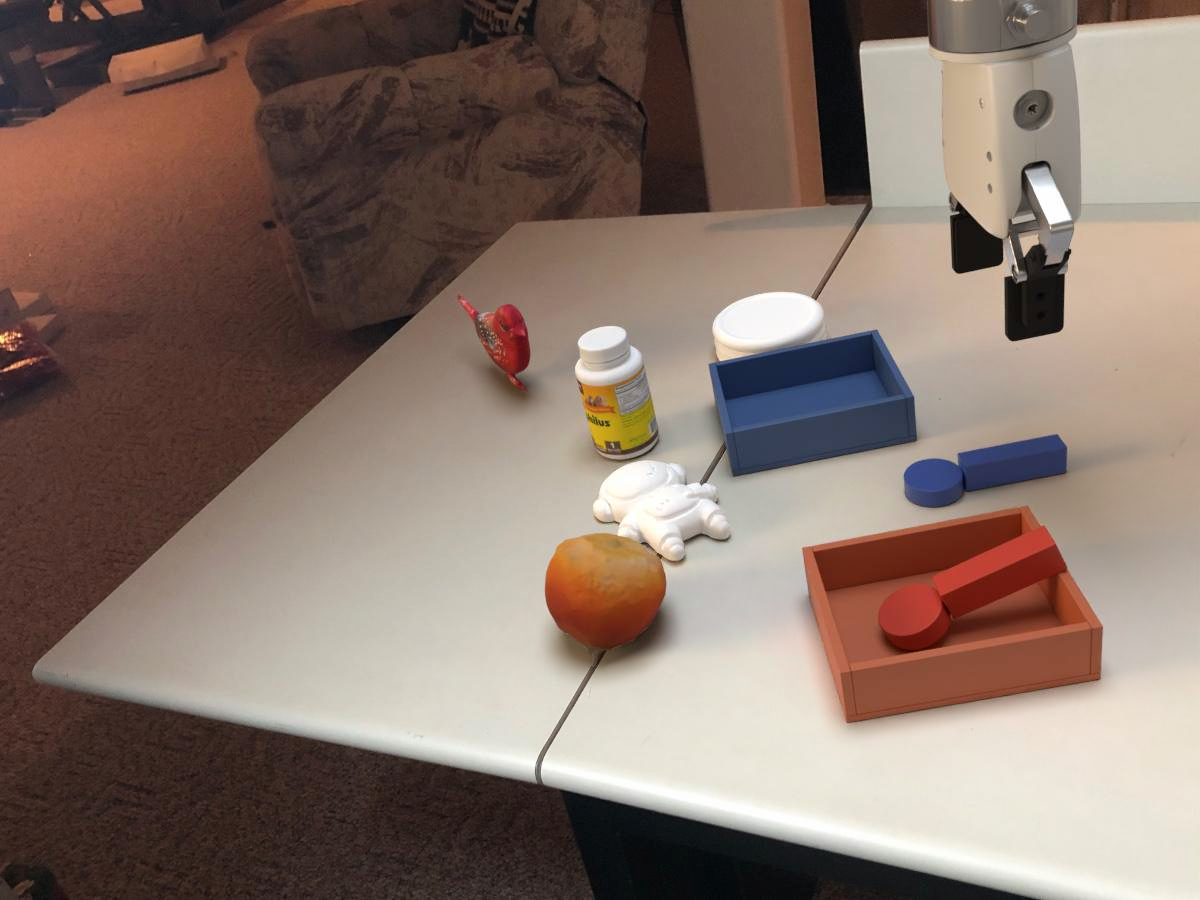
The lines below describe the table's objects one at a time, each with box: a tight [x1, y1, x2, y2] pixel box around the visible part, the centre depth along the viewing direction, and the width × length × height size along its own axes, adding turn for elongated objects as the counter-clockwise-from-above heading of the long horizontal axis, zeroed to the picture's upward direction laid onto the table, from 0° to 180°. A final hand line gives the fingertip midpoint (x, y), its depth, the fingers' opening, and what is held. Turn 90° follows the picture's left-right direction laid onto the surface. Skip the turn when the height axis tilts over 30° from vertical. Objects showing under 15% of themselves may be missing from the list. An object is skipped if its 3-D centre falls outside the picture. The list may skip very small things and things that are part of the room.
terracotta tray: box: [801, 505, 1104, 723], centre depth 65 cm, size 14×11×4 cm
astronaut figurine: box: [592, 459, 731, 562], centre depth 81 cm, size 9×12×3 cm
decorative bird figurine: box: [456, 294, 531, 393], centre depth 103 cm, size 3×18×10 cm, turn 29°
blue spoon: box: [903, 433, 1068, 508], centre depth 76 cm, size 11×4×2 cm, turn 92°
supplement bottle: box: [574, 325, 660, 460], centre depth 88 cm, size 6×6×10 cm
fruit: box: [544, 532, 667, 669], centre depth 71 cm, size 8×8×8 cm
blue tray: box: [708, 328, 918, 477], centre depth 87 cm, size 14×11×4 cm
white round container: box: [711, 291, 828, 361], centre depth 98 cm, size 10×10×4 cm
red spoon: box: [878, 525, 1069, 650], centre depth 64 cm, size 11×4×2 cm, turn 92°
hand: (1004, 299), depth 67 cm, fingers open, 9 cm apart
